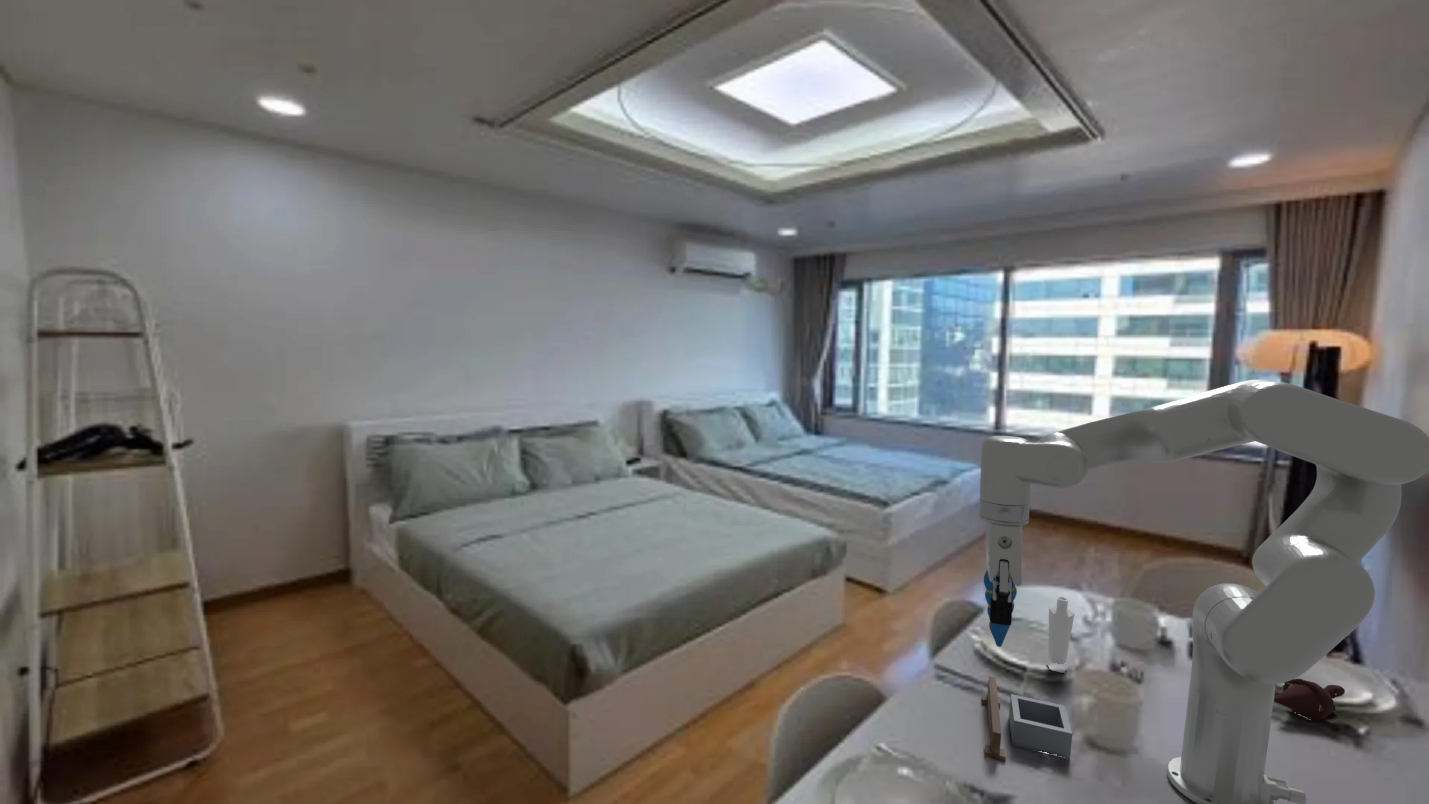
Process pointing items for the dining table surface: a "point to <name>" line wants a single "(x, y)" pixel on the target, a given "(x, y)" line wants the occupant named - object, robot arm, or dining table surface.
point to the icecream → (1309, 698)
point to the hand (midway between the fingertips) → (999, 615)
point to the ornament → (996, 629)
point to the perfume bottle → (1059, 630)
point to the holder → (1039, 726)
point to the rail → (993, 722)
